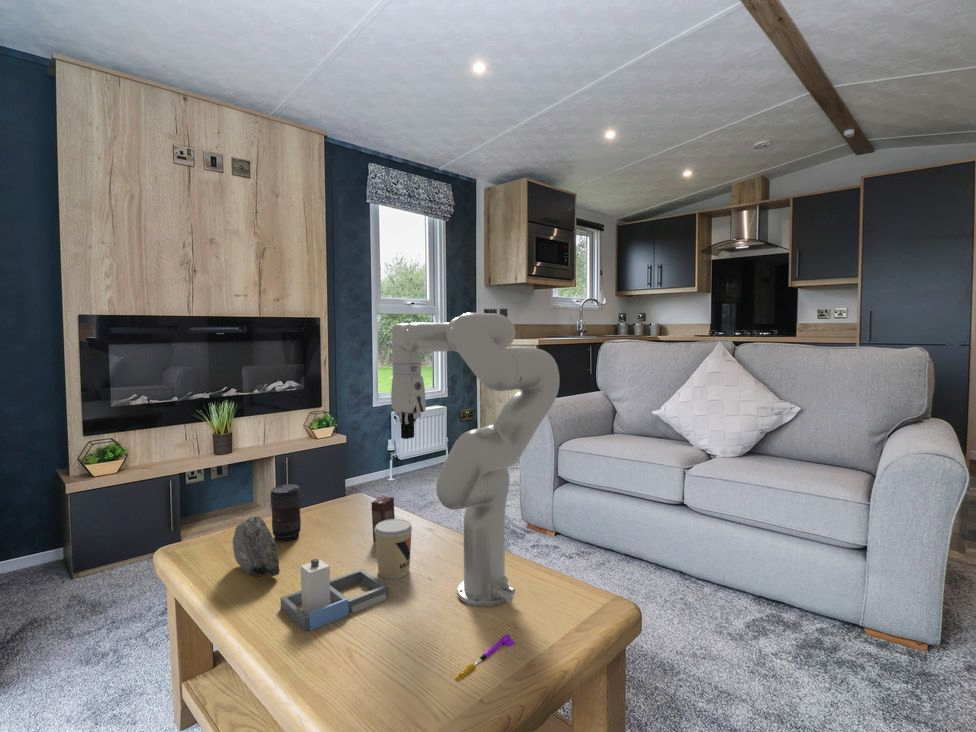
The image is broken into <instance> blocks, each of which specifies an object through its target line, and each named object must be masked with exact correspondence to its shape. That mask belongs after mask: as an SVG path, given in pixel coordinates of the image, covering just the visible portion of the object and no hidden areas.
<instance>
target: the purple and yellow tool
mask: <svg viewBox="0 0 976 732" xmlns="http://www.w3.org/2000/svg"><path fill="white" fill-rule="evenodd" d="M514 642H515V641H514V640H513V639H512V636H511V635H510V634H508V633H507V634H504V636H502V637H501V638H500V639H499V640H498V641H497V642H495V643H494V644H493V645H492V646H491V647H490V648H489V649H487V650H486V651H485V652H484V653H483V654H482V655H480V657H479V660H478V661H476V662H475V663H473V662H471V663H469V664H468V665H467V666H466V668H464V669H463V670H462V671H461V672H460V673H459V674H458V675H457V676H456V677H455V678H454V679H455V680H456V681H457V682H459V681H461V680H462V679H463V678H465V677H467V675H469V674H470V673H472V671H474V670H475V669H476V665H477V664H479V662H481V661H482V662H483V661H485V660H486V659H488V658H489V657H490V656H491V655H493V654H494V653H495V652H496V651H497V650H499V649H500V648H501V647H503V646H507V647H509V648H511V646H512V645H513V644H514ZM514 645H515V644H514ZM514 645H513V646H514ZM513 646H512V647H513Z"/></svg>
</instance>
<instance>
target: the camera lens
mask: <svg viewBox="0 0 976 732" xmlns="http://www.w3.org/2000/svg"><path fill="white" fill-rule="evenodd" d="M270 508H271V530H272V536H274V537H273V538H274V541H275V542H279V543H287V542H292V541H294V540H297V539H298V538H299V537H300V532H301V527H302V526H301V525H302V523H301V522H302V520H301V519H302V518H301V490H300V486H299V485H298V484H292V483H291V484H290V483H289V484H288V483H287V484H281V485H277V486H274V487H273V488H271V492H270Z"/></svg>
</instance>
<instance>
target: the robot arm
mask: <svg viewBox="0 0 976 732" xmlns="http://www.w3.org/2000/svg"><path fill="white" fill-rule="evenodd" d="M391 330H392V331H391V336H392V337H391V340H392V341H391V342H392V343H391V344H392V350H391V351H392V379H391V380H392V381H391V389H390V390H391V391H390V392H391V393H390V397H391V398H390V399H391V408H392V410H393V413H394V414H395V415H396V416H398V418H399V419H398V421H399V423H400V438H401V439H404V440H409V439H412V438H414V437H415V424H416V420H417V419H420V418H422V413H425V411H426V409H427V403H426V390H425V389H426V388H425V383H424V377H423V375H422V353H431V352H432V353H433V352H456V353H458V354H459V355H460V357H461V358H462V360H463V361H464V362H465V363H466V365H467V367H469V368H470V369H471V371H472V372H473V375H475V376H476V378H477V379H478V380H479V382H480V383H481V384H482V385H484V387H486V388H487V389H489V390H491V391H494V392H495V391H496V392H506V391H513V390H515V391H516V390H517V392H516V393H515V394H514V395H513V396H511V398H509V399H508V400H507V402H506V403H505V404H504V405H503V407H502V408H501V411H500V412H499V414H498V416H497V418H496V419H495V420H494V421H493V423H491V424H490V425H488V426H483V427H478V428H473V429H469V430H467V431H465V432H464V433H463V432H462V434H461V435H460V436H459V437H458V438H457V439H456V440H455V442H454V444H453V445H452V447H451V449H450V452H449V453H448V455H447V457H446V459H445V461H444V463H443V464H442V467H441V468H440V471H439V473H438V476H437V479H436V485H435V486H436V487H435V490H436V496H437V500H438V501H439V502H440V503H441V505H442V506H443V507H445V508H446V509H449V510H453V511H456V510H457V511H458V510H463V509H465V511H464V516H463V580H462V581H461V582H459V584H458V586H457V589H456V592H457V594H456V595H457V596H458V598H459V599H460V601H462V602H464V604H465V603H466V604H468V605H471V606H475V607H494V606H498V605H501V604H502V603H505V602H506V603H510V602H511V600H512V598H513V596H514V595H515V593H516V589H515V588H514V587H512V586H511V584H510V583H509V577H508V576H507V575H505V574H506V571H505V569H506V566H505V565H506V562H505V561H506V557H505V554H506V553H505V552H506V551H505V549H506V547H505V546H506V545H505V544H506V543H505V542H506V541H505V540H506V535H505V534H506V533H505V532H506V530H505V528H506V505H507V498H508V494H509V488H510V473H509V470H508V468H509V467H511V466H513V465H515V464H516V463H517V462H518V461H519V460H520V458H521V457H522V455H523V453H524V452H525V450H526V449H527V447H528V445H529V443H530V442H531V440H532V438H533V437H534V435H535V433H536V431H537V430H538V428H539V426H540V425H541V423H542V421H543V420H544V419H545V418H546V415H547V414H548V413H549V411H550V410H551V408H552V406H553V404H554V403H555V401H556V398H557V396H558V393H559V388H560V370H559V366H558V364H557V362H556V360H555V358H554V357H553V356H552V354H550V353H549V352H547V351H546V350H544V349H540V348H535V347H515V348H514V347H512V348H511V347H510V346H511V344H512V343H513V342H514V340H515V337H516V328H515V325H514V323H513V321H512V320H511V319H510V318H508V317H507V316H506V315H504V314H500V313H493V312H491V313H489V312H488V313H487V312H466V313H463V314H460V315H459V316H457V317H454V318H453V319H451V320H450V322H410V323H396V324H394V325H393V326H392V329H391ZM508 347H510V348H508Z"/></svg>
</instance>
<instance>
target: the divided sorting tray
mask: <svg viewBox="0 0 976 732" xmlns="http://www.w3.org/2000/svg"><path fill="white" fill-rule="evenodd" d="M358 583H362V584H363V585H365V586H366V587H368V588H369V589H370V591H367V592H363V593H361V594H358V595H356V596H354V597H351V598H348V597H346V596H345V595H344V594H342V593H341V592H340V591H339V590H342V589H343V588H347V587H349V586H352V585H355V584H358ZM389 591H390V589H389V585H387V584H386V583H384V582H383V581H381V580H380V579H378V578H377V577H375V576H374V575H372V574H371V573H369V572H368V571H366V570H364V569H363V568H360V569H357V570H355V571H352V572H349V573H346V574H344V575H341V576H337V577H335V578H332V579H330V605H328V606H325V607H323V608H320V609H317V610H315V611H312V612H310V613H309V615H307V614H306V613H304V612H303V611H302V609H300V608H299V607H298V606H299V605H302V600H301V590H298V591H296V592H292V593H290V594H287V595H284V596H281V597H280V609H281V610H282V611H283V613H285V614H286V615H287V616H288V617H289V618H290V619H291V620H292V621H293V622H294V623H295V624H296V625H297V626H298V627H299V628H300V629H301V630H303V632H306V631H308V630H309V631H314V630H315V629H318V628H320V627H323V626H325V625H327V624H330V623H333V622H334V621H337V620H339V619H341V618H344V617H347V616H349V614H350V613H351V614H355V613H356V612H359V611H361V610H364V609H366V608H368V607H371V606H374V605H376V604H379V603H381V602H383V601H386V600H387V598H389V595H390V594H389ZM297 605H298V606H297Z"/></svg>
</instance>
